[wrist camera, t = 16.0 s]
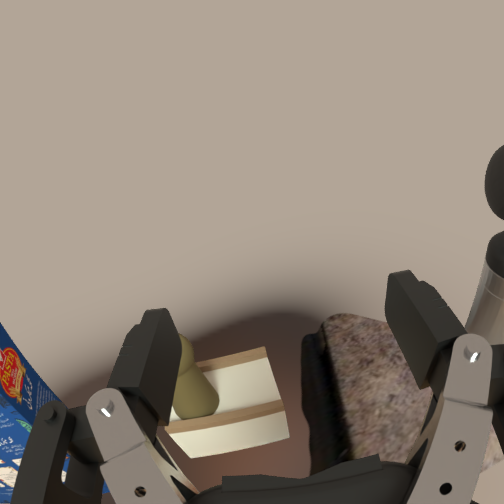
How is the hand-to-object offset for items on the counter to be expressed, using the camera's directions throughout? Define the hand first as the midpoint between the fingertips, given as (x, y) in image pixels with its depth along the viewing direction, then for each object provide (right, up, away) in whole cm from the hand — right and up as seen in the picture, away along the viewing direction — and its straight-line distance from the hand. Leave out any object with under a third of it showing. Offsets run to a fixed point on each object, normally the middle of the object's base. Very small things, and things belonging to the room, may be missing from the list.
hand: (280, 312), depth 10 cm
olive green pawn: (-8, -17, +23) cm, 30 cm away
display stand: (-4, -22, +28) cm, 36 cm away
